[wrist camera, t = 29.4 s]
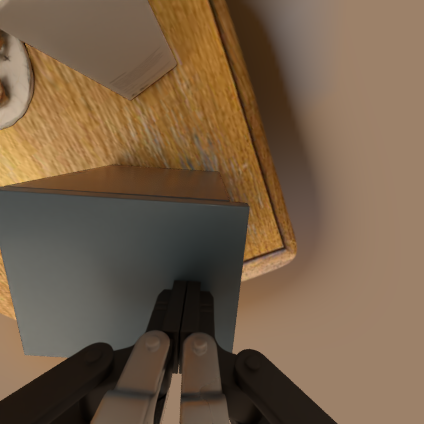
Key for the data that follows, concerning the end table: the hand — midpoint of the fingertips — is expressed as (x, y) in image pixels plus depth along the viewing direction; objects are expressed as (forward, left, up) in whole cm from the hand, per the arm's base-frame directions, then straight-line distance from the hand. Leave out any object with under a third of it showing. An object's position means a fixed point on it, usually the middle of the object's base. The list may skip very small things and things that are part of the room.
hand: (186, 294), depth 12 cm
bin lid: (0, -4, -1) cm, 4 cm away
